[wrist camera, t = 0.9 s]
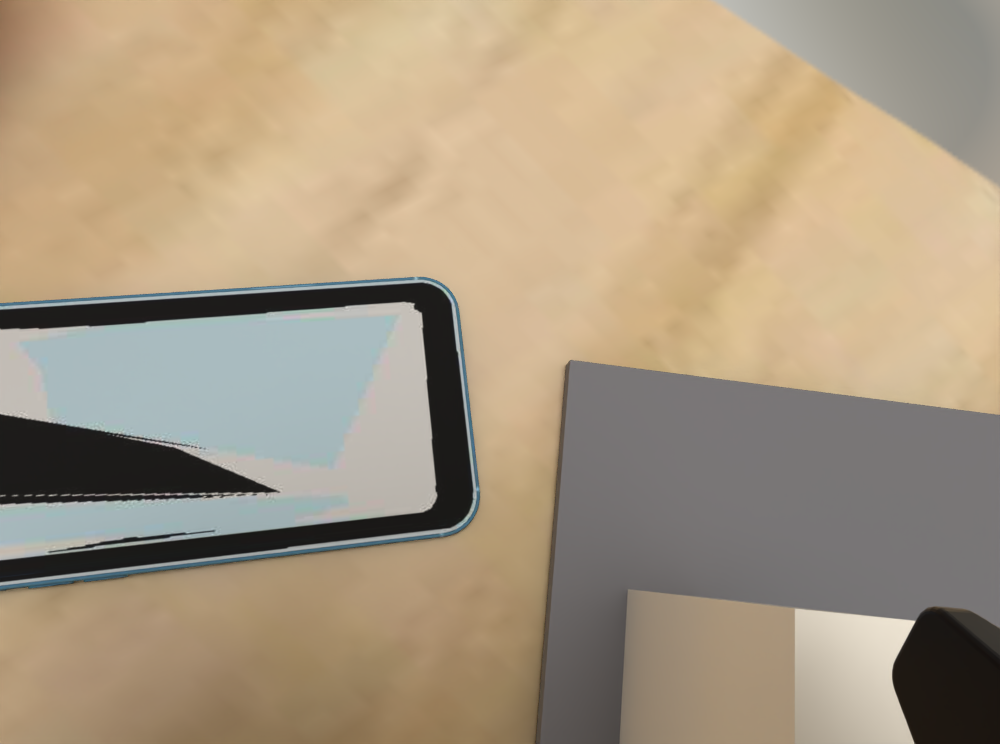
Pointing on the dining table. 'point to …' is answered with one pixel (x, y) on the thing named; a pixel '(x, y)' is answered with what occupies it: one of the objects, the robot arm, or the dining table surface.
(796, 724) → the tile
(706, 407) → the mat
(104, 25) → the dining table surface
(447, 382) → the smartphone
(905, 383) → the dining table surface
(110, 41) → the dining table surface
